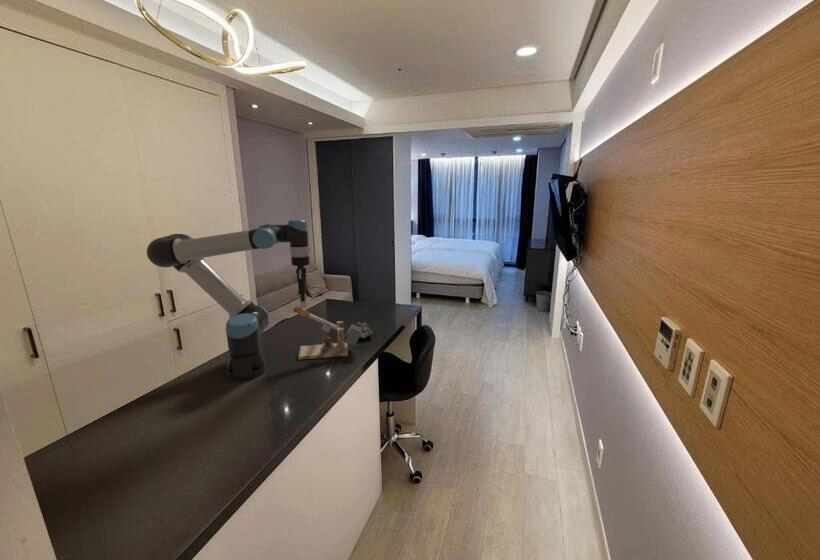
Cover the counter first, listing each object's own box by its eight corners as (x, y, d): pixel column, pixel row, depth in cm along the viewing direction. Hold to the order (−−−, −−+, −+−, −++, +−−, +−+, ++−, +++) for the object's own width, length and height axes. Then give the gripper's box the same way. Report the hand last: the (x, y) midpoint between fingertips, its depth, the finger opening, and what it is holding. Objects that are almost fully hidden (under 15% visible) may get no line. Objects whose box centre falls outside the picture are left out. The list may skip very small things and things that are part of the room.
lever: (289, 317, 151) (297, 303, 150) (291, 313, 157) (298, 299, 156) (354, 346, 160) (361, 332, 160) (353, 341, 166) (360, 328, 165)
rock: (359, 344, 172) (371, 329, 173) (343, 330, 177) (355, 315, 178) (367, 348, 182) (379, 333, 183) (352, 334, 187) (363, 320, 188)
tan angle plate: (298, 359, 154) (296, 332, 151) (300, 348, 164) (299, 323, 161) (348, 355, 158) (347, 329, 155) (347, 345, 169) (346, 320, 166)
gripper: (308, 258, 143) (311, 311, 149) (310, 253, 155) (313, 302, 161) (289, 258, 141) (293, 312, 147) (292, 253, 154) (296, 303, 159)
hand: (303, 307), depth 154 cm, fingers closed
